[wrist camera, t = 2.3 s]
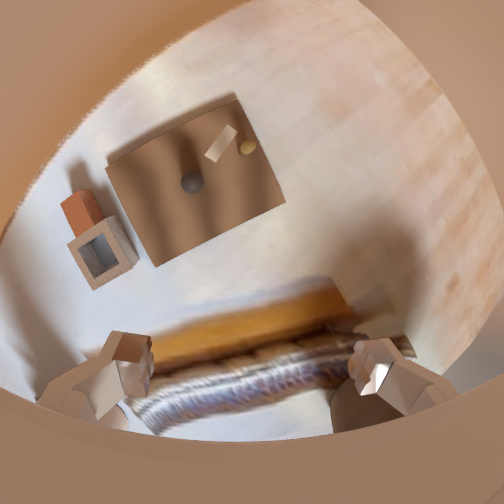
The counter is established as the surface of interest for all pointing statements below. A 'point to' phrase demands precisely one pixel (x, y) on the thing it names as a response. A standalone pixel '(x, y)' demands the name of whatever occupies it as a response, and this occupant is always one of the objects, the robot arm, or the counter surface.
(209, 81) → the counter surface
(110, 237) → the flange
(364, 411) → the plant pot
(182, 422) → the counter surface
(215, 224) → the post board
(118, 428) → the robot arm
